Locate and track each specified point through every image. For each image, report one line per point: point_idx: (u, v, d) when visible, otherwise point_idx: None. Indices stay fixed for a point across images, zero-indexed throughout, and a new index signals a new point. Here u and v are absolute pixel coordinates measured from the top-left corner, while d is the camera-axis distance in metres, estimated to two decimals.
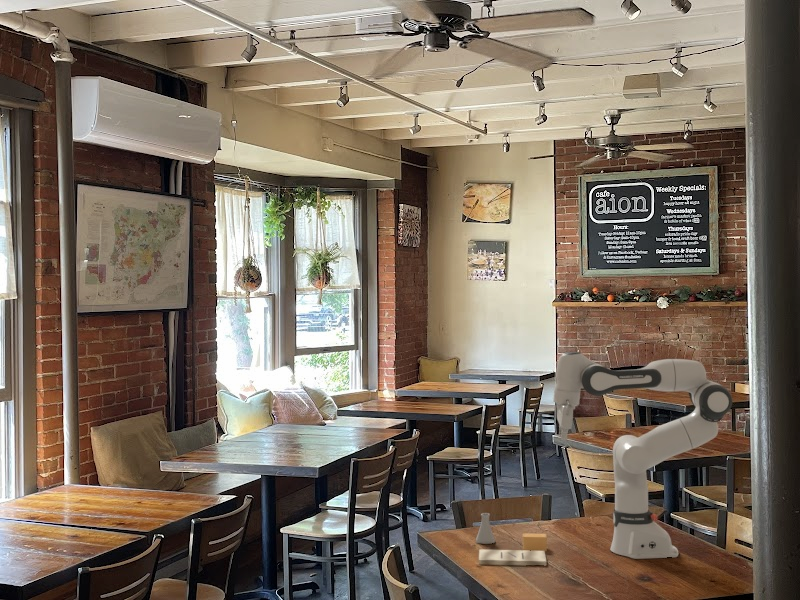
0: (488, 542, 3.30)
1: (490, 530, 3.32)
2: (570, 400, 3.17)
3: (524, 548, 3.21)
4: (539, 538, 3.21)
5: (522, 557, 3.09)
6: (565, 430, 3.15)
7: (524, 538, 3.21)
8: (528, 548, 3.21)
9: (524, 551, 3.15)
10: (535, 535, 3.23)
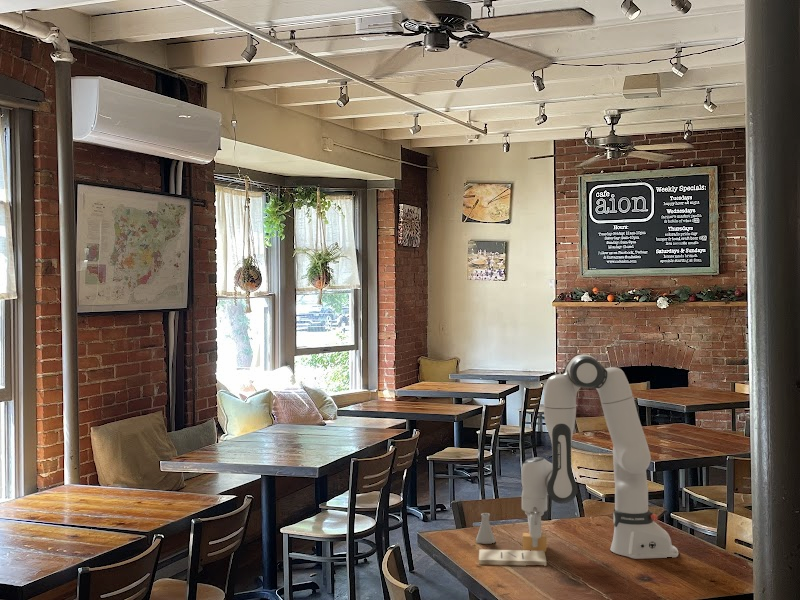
0: (488, 542, 3.30)
1: (490, 530, 3.32)
2: (537, 507, 3.19)
3: (524, 547, 3.21)
4: (539, 538, 3.21)
5: (522, 557, 3.09)
6: None
7: (524, 537, 3.21)
8: (528, 547, 3.21)
9: (524, 551, 3.15)
10: None
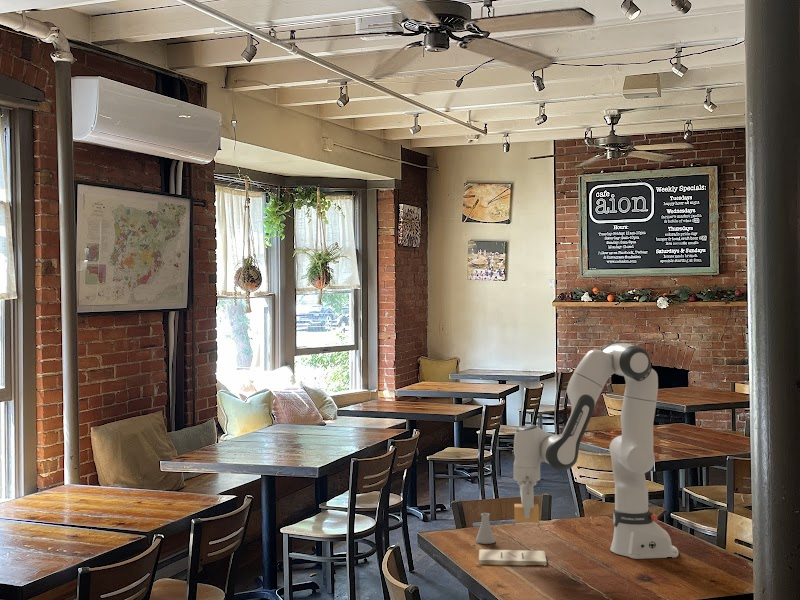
0: (488, 542, 3.30)
1: (490, 530, 3.32)
2: (530, 477, 3.06)
3: (515, 519, 3.09)
4: (531, 508, 3.08)
5: (522, 557, 3.09)
6: (527, 507, 3.06)
7: (515, 508, 3.08)
8: (520, 519, 3.08)
9: (524, 551, 3.15)
10: None
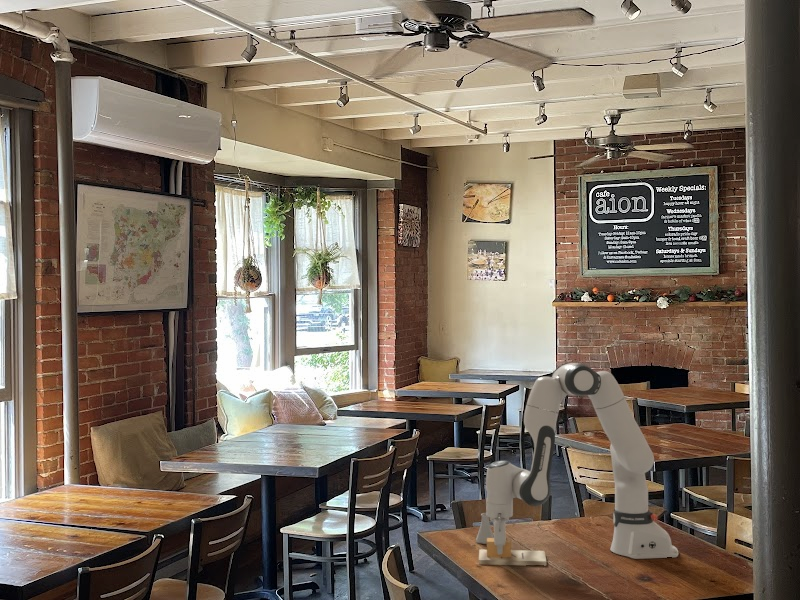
0: None
1: (490, 530, 3.32)
2: (502, 513, 3.07)
3: (488, 553, 3.10)
4: None
5: (522, 557, 3.09)
6: None
7: (488, 543, 3.10)
8: (492, 553, 3.10)
9: (524, 551, 3.15)
10: None
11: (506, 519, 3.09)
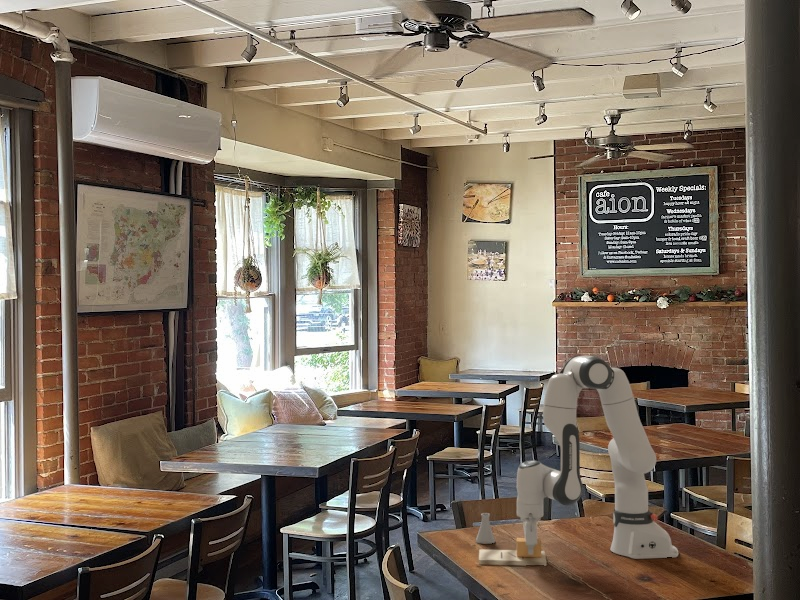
0: (488, 542, 3.30)
1: (490, 530, 3.32)
2: (533, 513, 3.06)
3: (518, 553, 3.09)
4: None
5: (522, 557, 3.09)
6: None
7: (518, 543, 3.09)
8: (522, 553, 3.09)
9: None
10: None
11: (537, 519, 3.08)
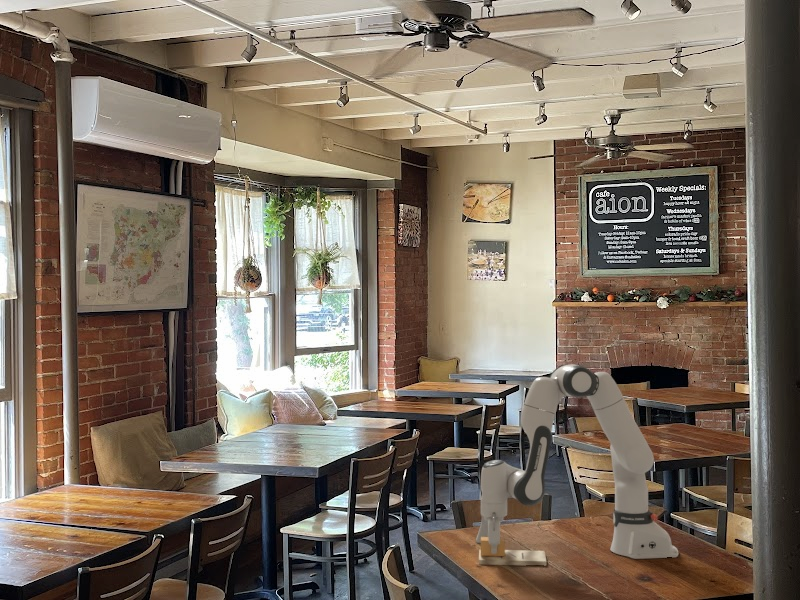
0: None
1: None
2: (496, 513, 3.07)
3: (481, 552, 3.10)
4: None
5: (522, 557, 3.09)
6: None
7: (482, 542, 3.10)
8: (486, 552, 3.10)
9: (524, 551, 3.15)
10: None
11: (500, 518, 3.09)
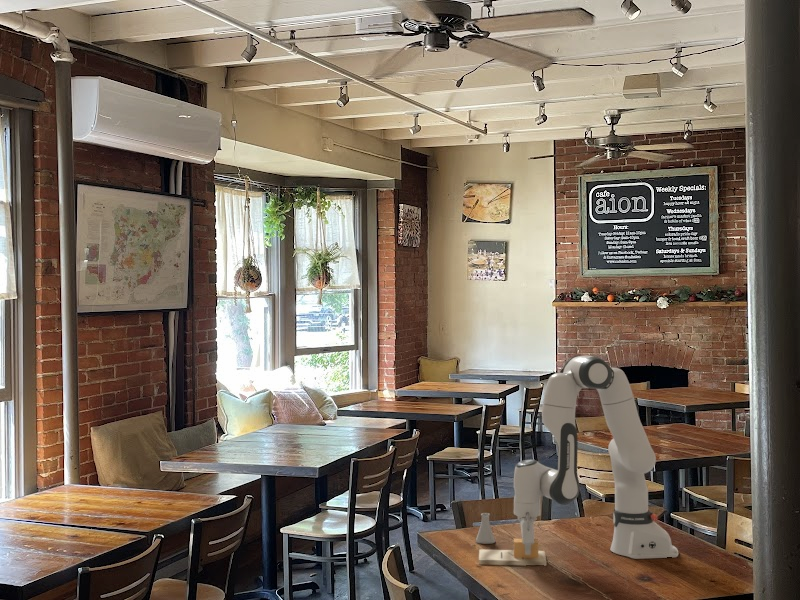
0: (488, 542, 3.30)
1: (490, 530, 3.32)
2: (530, 512, 3.06)
3: (515, 554, 3.09)
4: None
5: (522, 557, 3.09)
6: (528, 544, 3.04)
7: (515, 544, 3.09)
8: (519, 554, 3.09)
9: None
10: None
11: (534, 518, 3.08)
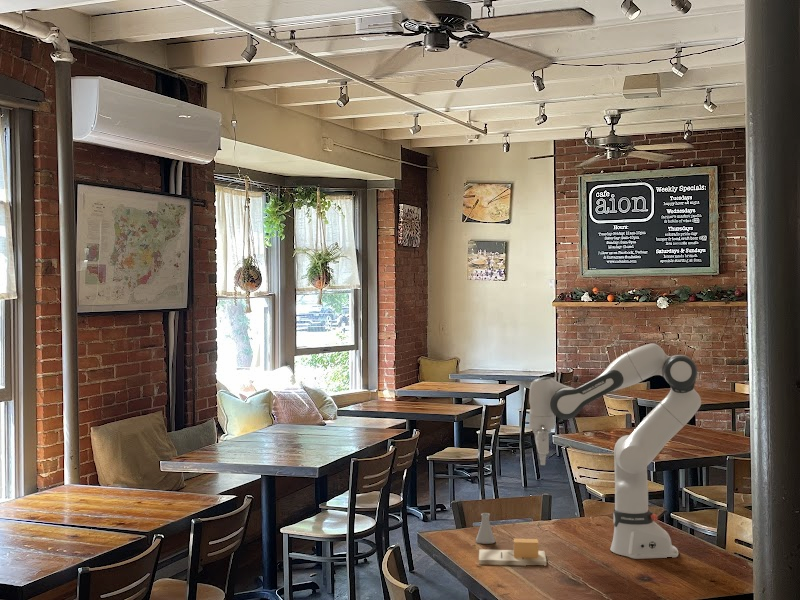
0: (488, 542, 3.30)
1: (490, 530, 3.32)
2: (545, 425, 3.24)
3: (515, 554, 3.09)
4: (530, 544, 3.08)
5: (522, 557, 3.09)
6: (543, 455, 3.22)
7: (515, 544, 3.09)
8: (519, 554, 3.09)
9: None
10: (526, 540, 3.10)
11: (548, 431, 3.26)
